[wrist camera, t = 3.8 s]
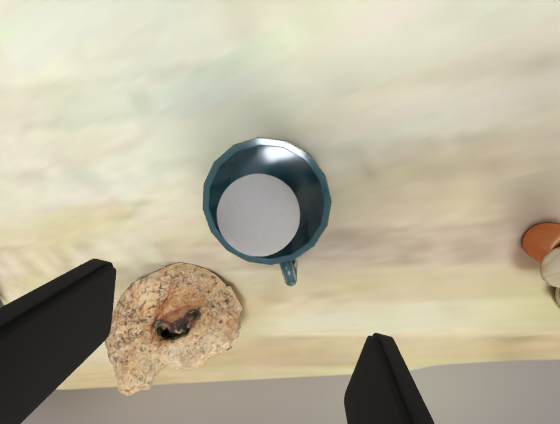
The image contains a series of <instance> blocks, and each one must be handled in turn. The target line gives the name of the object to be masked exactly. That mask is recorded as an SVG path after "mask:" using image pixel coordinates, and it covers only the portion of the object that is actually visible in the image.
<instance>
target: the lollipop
mask: <svg viewBox="0 0 560 424" xmlns="http://www.w3.org/2000/svg"><path fill="white" fill-rule="evenodd" d="M299 220H300V209H299V204H298V201H297V198H296V196H295V195H294V193H293V191H292V190H291V188H290V187H289V186H288V185H286V184H285V183H284V182H283V181H281V180H280V179H278V178H276V177H273V176H270V175H266V174H259V173H258V174H251V175H247V176H243V177H241V178H239V179H237V180H236V181H234V182H233V183H232V184H231V185H230V186H229V187H228V188H227V189H226V190H225V191H224V193H223V195H222V197H221V199H220V201H219V204H218V208H217V222H218V226H219V229H220V232H221V234H222V236H223V237H224V239H225V240H226V241H227V243H228V244H229V245H230V246H232V247H233V248H234V249H236V250H237V251H239V252H241V253H243V254H246V255H250V256H261V257H262V256H268V255H271V254H274V253H276V252H278V251H280V250H281V249H283V248H284V247H285V246H286V245H287V244H289V242H290V241H291V240H292V239H293V237H294V236H295V234H296V232H297V230H298V227H299Z"/></svg>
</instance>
